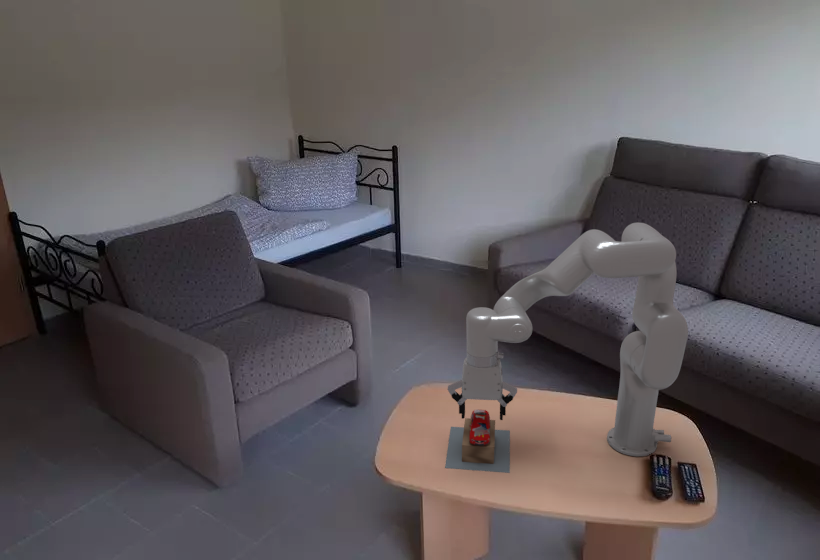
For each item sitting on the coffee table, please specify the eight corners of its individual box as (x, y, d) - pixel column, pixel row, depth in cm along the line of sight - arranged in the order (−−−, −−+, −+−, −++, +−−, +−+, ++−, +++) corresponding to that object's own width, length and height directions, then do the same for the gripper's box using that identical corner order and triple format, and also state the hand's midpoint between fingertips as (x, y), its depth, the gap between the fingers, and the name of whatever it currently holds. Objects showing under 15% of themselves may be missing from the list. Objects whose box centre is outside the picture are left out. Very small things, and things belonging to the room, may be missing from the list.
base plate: (509, 434, 182) (509, 430, 181) (509, 476, 165) (509, 472, 165) (450, 430, 184) (450, 426, 183) (444, 471, 167) (444, 467, 167)
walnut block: (494, 435, 179) (495, 420, 177) (493, 464, 168) (494, 447, 166) (464, 433, 180) (464, 418, 178) (461, 461, 169) (462, 445, 167)
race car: (489, 449, 166) (490, 435, 164) (467, 447, 166) (468, 433, 165) (491, 418, 178) (491, 405, 176) (471, 417, 179) (471, 404, 177)
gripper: (517, 350, 166) (516, 409, 173) (448, 348, 169) (449, 406, 175) (518, 365, 159) (516, 426, 166) (445, 363, 162) (447, 423, 168)
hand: (482, 416), depth 170 cm, fingers open, 9 cm apart
